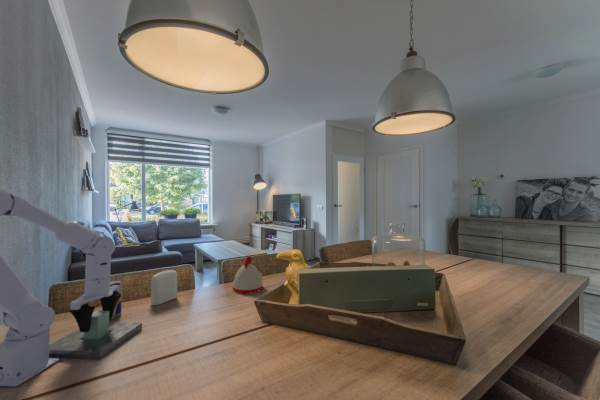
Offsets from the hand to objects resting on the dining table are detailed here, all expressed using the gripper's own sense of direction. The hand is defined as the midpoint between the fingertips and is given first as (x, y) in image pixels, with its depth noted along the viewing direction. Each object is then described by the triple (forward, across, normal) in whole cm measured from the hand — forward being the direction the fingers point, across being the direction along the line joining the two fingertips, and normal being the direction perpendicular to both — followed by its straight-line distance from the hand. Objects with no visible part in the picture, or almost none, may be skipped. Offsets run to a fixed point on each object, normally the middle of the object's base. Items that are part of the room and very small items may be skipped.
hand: (96, 325), depth 73 cm
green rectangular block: (+5, 0, 0) cm, 5 cm away
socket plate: (+5, 0, 0) cm, 5 cm away
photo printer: (+5, +31, -2) cm, 32 cm away
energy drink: (+5, +16, +8) cm, 19 cm away
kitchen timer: (+5, +49, -32) cm, 59 cm away
